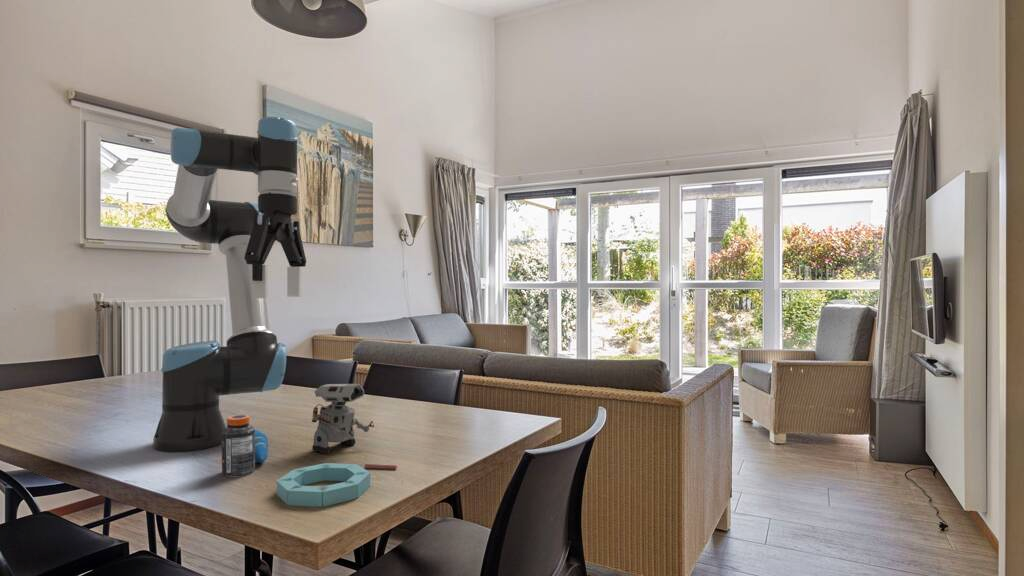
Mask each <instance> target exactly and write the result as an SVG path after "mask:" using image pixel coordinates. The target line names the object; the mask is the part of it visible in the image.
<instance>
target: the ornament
mask: <svg viewBox="0 0 1024 576" xmlns="http://www.w3.org/2000/svg"><path fill="white" fill-rule="evenodd" d="M268 448H269V439H268V436H267V435H266V434H264V433H263V432H262V431H260V430H257V429H255V463H257V464H261V463H264V462H265V461H266V460H267V459H268V453H269V451H268Z"/></svg>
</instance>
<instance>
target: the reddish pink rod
mask: <svg viewBox="0 0 1024 576" xmlns="http://www.w3.org/2000/svg"><path fill="white" fill-rule="evenodd" d="M363 467H364V469H378V470H397V468H398V465H396V464H377V463H376V464H373V463H365V464H364V466H363Z"/></svg>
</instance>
